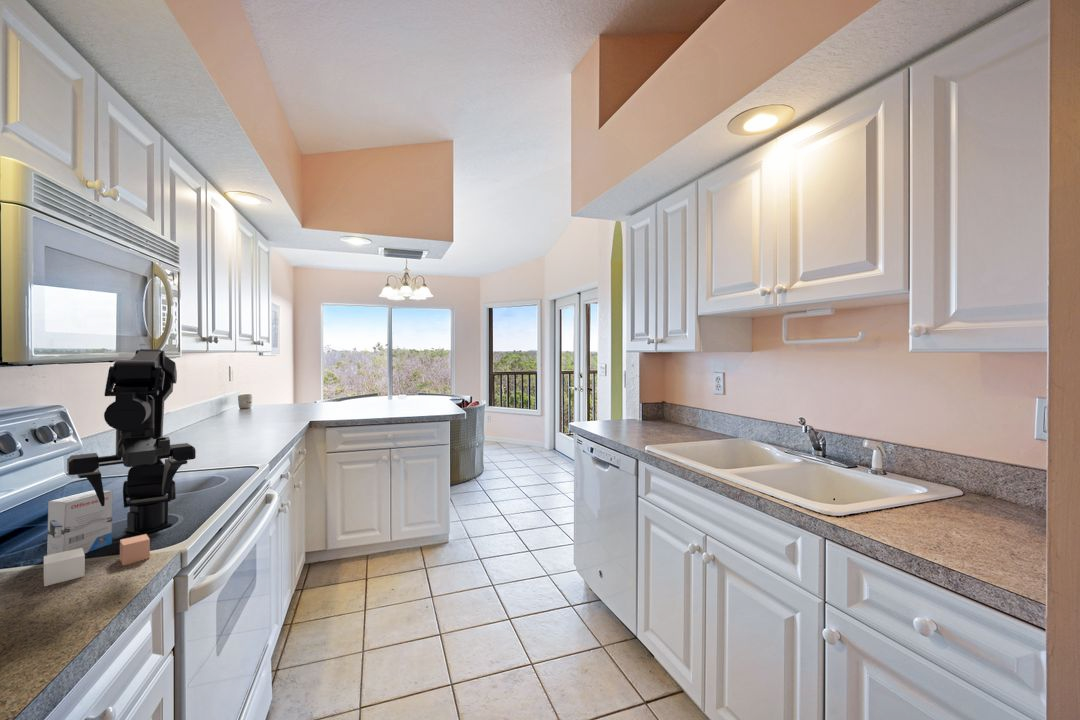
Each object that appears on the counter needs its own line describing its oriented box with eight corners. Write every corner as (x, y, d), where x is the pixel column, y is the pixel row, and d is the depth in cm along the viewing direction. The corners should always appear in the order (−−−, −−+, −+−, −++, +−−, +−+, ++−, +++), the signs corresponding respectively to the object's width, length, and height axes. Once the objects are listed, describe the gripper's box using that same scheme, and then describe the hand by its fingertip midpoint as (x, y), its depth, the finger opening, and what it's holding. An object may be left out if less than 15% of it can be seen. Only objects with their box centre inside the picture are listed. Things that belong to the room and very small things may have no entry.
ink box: (95, 541, 98) (96, 488, 98) (113, 544, 97) (114, 490, 97) (45, 559, 89) (46, 500, 89) (64, 561, 88) (65, 502, 88)
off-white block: (82, 568, 86) (82, 547, 86) (84, 576, 83) (84, 555, 83) (43, 577, 82) (43, 556, 82) (44, 587, 79) (44, 564, 79)
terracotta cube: (145, 553, 93) (146, 534, 93) (149, 558, 90) (149, 539, 90) (119, 559, 90) (119, 539, 90) (122, 565, 87) (123, 545, 87)
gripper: (71, 433, 77) (70, 523, 78) (202, 422, 92) (201, 498, 92) (67, 426, 85) (66, 508, 85) (189, 417, 99) (188, 487, 99)
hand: (134, 500), depth 90 cm, fingers open, 9 cm apart
